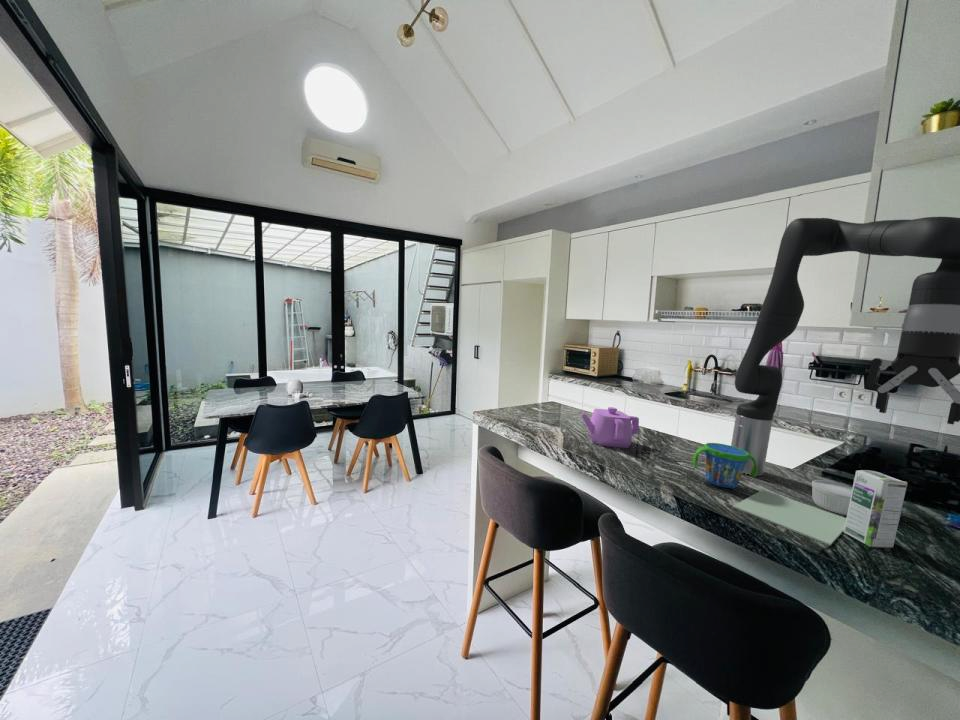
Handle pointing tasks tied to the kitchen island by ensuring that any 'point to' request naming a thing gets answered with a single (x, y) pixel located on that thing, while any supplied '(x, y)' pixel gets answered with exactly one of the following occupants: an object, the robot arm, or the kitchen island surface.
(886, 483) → the syrup box
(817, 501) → the ramekin
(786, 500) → the mat
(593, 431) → the teakettle
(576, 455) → the kitchen island surface
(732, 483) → the snack cup
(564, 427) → the kitchen island surface
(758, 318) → the robot arm
